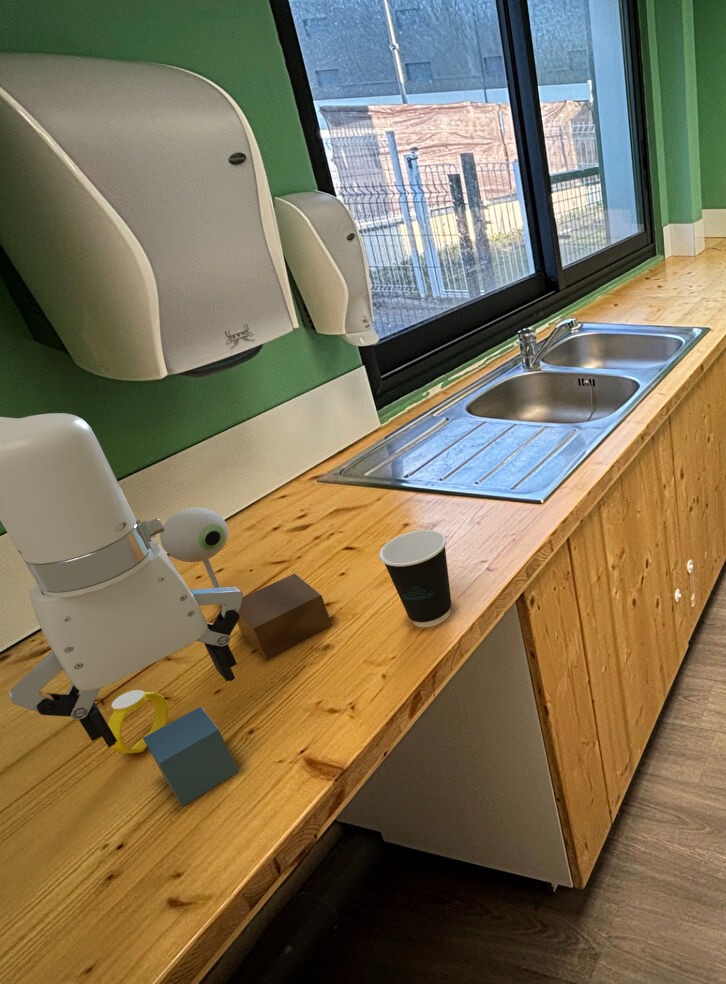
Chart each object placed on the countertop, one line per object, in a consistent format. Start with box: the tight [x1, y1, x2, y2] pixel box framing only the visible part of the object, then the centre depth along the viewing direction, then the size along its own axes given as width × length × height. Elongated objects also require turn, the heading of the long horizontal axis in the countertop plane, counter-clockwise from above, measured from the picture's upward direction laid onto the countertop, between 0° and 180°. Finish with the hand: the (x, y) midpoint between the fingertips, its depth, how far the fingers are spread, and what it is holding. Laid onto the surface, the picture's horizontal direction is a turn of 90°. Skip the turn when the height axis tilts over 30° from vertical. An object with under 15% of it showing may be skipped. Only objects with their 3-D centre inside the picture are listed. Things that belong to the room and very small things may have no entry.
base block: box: [236, 572, 333, 661], centre depth 90 cm, size 8×8×5 cm
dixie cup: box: [378, 529, 452, 628], centre depth 90 cm, size 8×8×11 cm
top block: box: [142, 706, 240, 807], centre depth 70 cm, size 5×5×6 cm
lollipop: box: [159, 507, 229, 606], centre depth 93 cm, size 7×7×15 cm
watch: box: [107, 689, 169, 754], centre depth 74 cm, size 6×3×6 cm, turn 177°
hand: (170, 704), depth 67 cm, fingers open, 9 cm apart
